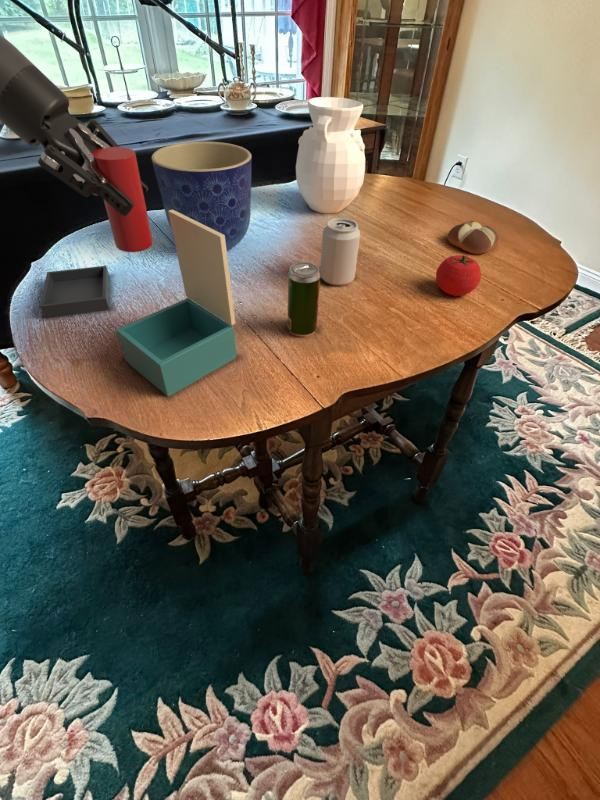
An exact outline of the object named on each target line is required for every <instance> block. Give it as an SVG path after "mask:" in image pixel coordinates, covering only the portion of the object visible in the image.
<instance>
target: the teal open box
mask: <svg viewBox="0 0 600 800" xmlns="http://www.w3.org/2000/svg"><path fill="white" fill-rule="evenodd" d="M115 332H116V335H117V337H118V341H119V344H120V346H121V347H120V348H121V350H122V353H123V356H124V360H125V362H126V363H128V364H129V365H130V366H131V367H132V368H134V369H135V370H136V371H137V372H138V373H140V375H141V376H143V377H144V378H145V379H146V380H148V381H149V382H150V383H151V384H152V385H153V386H154V387H156V388H157V389H158V390H159V391H161V392H162V393H163V394H164V395H165V396H166V397H170V396H172V395H174V394H175V393H177V392H180V391H181V390H183V389H185V388H186V387H188V386H189V385H191V384H193V383H195V382H197V381H198V380H200V379H202V378H204V377H205V376H207V375H209V374H210V373H213V372H214V371H216V370H217V369H220V368H221V367H223V366H225V365H226V364H228V363H230V362H232V361H234V360H235V359H237V347H236V338H235V328H234V325H230V324H229V323H227V322H226V321H224V320H222V319H221V318H219V317H218V316H216V315H215V314H213V313H211V312H210V311H208V310H207V309H205V308H204V307H202V306H201V305H199V304H197V303H196V302H194V301H193V300H191V299H190V298H188V297H187V298H185V299H182V300H179V301H177V302H175V303H173V304H171V305H169V306H167V307H166V306H165V307H164V308H162V309H160V310H157V311H155V312H152V313H150V314H147V315H146V316H144V317H140V318H138V319H137V320H134V321H132V322H130V323H128V324H125V325H122V326H121V327H119V328H116V329H115Z"/></svg>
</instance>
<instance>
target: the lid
mask: <svg viewBox="0 0 600 800" xmlns="http://www.w3.org/2000/svg"><path fill="white" fill-rule="evenodd" d="M168 213H169V218H170V223H171V227H172V230H171V232H172V236H173V237H172V238H173V242H174V247H175V251H176V256H177V261H178V265H179V270H180V275H181V279H182V284H183V289H184V294H185V297H187V298H189V299H191V300H192V301H194V302H195V303H197V304H198V305H200V306H202V307H203V308H205V309H206V310H208V311H209V312H211V313H213V314H214V315H216V316H217V317H219V318H220V319H222V320H223V321H225V322H227V323H228V324H230V325H231V326H234V325H236V316H235V308H234V300H233V292H232V284H231V276H230V267H229V259H228V252H227V250H228V249H227V250H226V242H225V235H223V234H221V233H219V232H217V231H215V230H213V229H211V228H209V227H207V226H205V225H203V224H201V223H199V222H197V221H195V220H193V219H191V218H189V217H187V216H185V215H183V214H181V213H179V212H177V211H175V210H169V211H168Z"/></svg>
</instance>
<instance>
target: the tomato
mask: <svg viewBox="0 0 600 800" xmlns="http://www.w3.org/2000/svg"><path fill="white" fill-rule="evenodd" d="M481 278H482V270H481V266H480V265H479V263H478V261H477V260H475V259H474V258H472V257H469V256H468V255H467V254H466V255H463V254H461V255H460V254H459V255H458V254H457V255H450V256H448V257H447V258H445V259H443V261H441V263H440V264H439V266H438V267H437V269H436V272H435V281H436V284H437V286H438V288H439V289H440V290H441V291H442V292H443V293H445V294H447V295H449V296H454V297H458V296H460V297H461V296H465V295H468V294H471V293H472V292H473V291H474V290H476V289H477V287H478V286H479V284H480V283H481Z"/></svg>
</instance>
